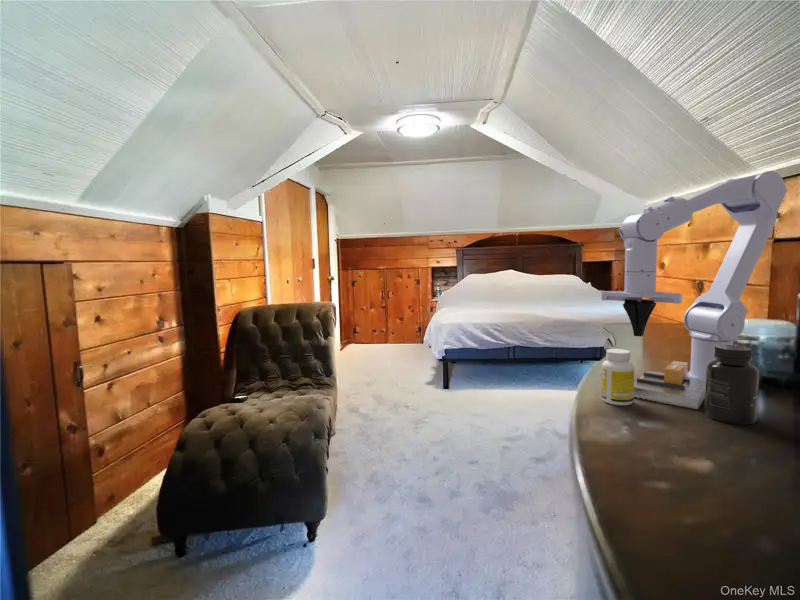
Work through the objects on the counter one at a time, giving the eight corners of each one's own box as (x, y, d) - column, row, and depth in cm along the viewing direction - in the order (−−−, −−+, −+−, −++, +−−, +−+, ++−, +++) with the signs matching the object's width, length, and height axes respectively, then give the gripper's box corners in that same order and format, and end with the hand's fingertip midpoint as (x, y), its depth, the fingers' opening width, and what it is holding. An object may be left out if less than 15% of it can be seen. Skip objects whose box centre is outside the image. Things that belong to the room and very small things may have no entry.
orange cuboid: (668, 379, 83) (669, 363, 83) (683, 381, 81) (683, 365, 81) (664, 383, 80) (664, 368, 80) (679, 386, 78) (679, 370, 78)
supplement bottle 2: (766, 426, 65) (771, 352, 63) (717, 424, 66) (721, 352, 65) (740, 410, 71) (743, 343, 70) (696, 409, 73) (699, 342, 72)
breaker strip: (647, 379, 90) (648, 357, 90) (709, 389, 83) (710, 365, 82) (629, 396, 80) (629, 371, 80) (697, 409, 73) (698, 382, 72)
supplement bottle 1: (640, 402, 77) (641, 351, 76) (621, 408, 74) (622, 355, 73) (613, 394, 82) (614, 346, 81) (595, 399, 79) (595, 350, 78)
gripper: (597, 272, 88) (596, 334, 89) (677, 272, 78) (675, 342, 79) (607, 270, 93) (606, 329, 94) (684, 270, 83) (682, 336, 84)
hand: (638, 335), depth 87 cm, fingers closed
